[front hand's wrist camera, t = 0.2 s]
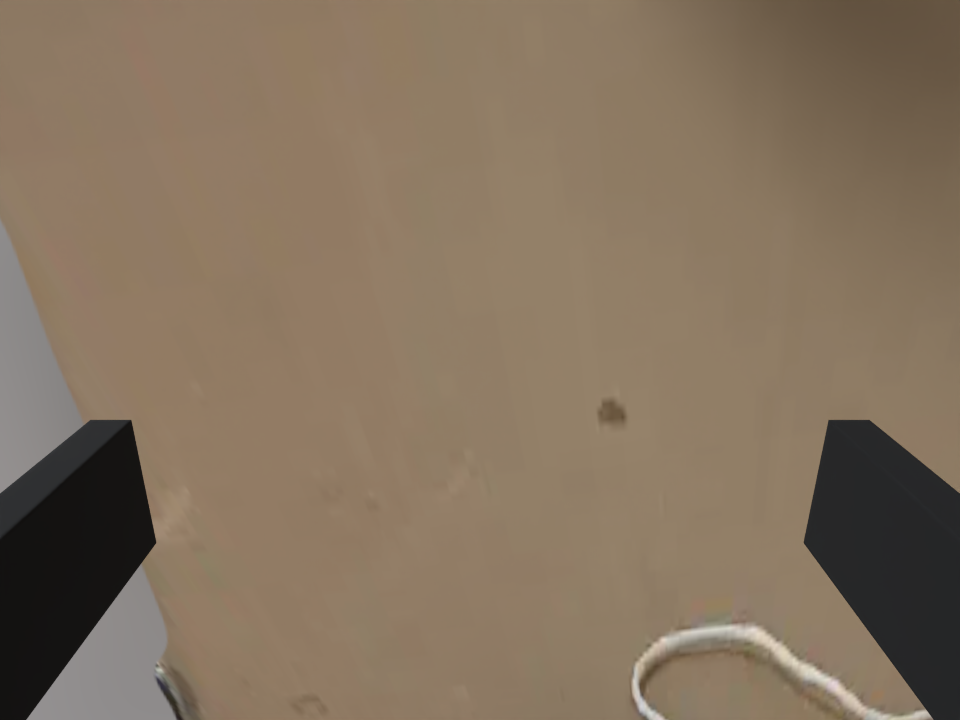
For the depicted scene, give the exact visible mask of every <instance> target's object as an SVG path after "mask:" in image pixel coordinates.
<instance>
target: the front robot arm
mask: <svg viewBox="0 0 960 720" xmlns="http://www.w3.org/2000/svg"><path fill="white" fill-rule="evenodd" d="M155 544H156V539H155V534H154V529H153V524H152V519H151V514H150V509H149V504H148V499H147V495H146V490H145V485H144V480H143V475H142V470H141V465H140V460H139V455H138V451H137V446H136V441H135V436H134V431H133V426H132V421H131V420H90V421H89V422H88V423H86V424H85V425H84V426H83V427H81V428H80V429H79V430H78V431H77V432H75V433H74V434H73V435H72V436H70V437H69V438H68V439H67V440H65V441H64V442H63V443H62V444H61V445H59V446H58V447H57V448H56V449H54V450H53V451H52V452H51V453H50V454H48V455H47V456H46V457H45V458H43V459H42V460H41V461H40V462H38V463H37V464H36V465H35V466H34V467H32V468H31V469H30V470H29V471H27V472H26V473H25V474H24V475H22V476H21V477H20V478H19V479H18V480H16V481H15V482H14V483H13V484H11V485H10V486H9V487H8V488H7V489H5V490H4V491H3V492H2V493H0V720H26V719H27V718H28V717H29V715H30V714H31V712H32V711H33V710H34V708H35V707H36V706H37V704H38V703H39V702H40V700H41V699H42V698H43V696H44V695H45V693H46V692H47V691H48V689H49V688H50V687H51V685H52V684H53V683H54V681H55V680H56V678H57V677H58V676H59V674H60V673H61V672H62V670H63V669H64V668H65V666H66V665H67V664H68V662H69V661H70V659H71V658H72V657H73V655H74V654H75V653H76V651H77V650H78V648H79V647H80V646H81V645H82V643H83V642H84V640H85V639H86V638H87V636H88V635H89V634H90V632H91V631H92V630H93V628H94V627H95V626H96V624H97V623H98V621H99V620H100V619H101V617H102V616H103V615H104V613H105V612H106V611H107V609H108V608H109V606H110V605H111V604H112V602H113V601H114V600H115V598H116V597H117V596H118V594H119V593H120V592H121V590H122V589H123V587H124V586H125V585H126V583H127V582H128V581H129V579H130V578H131V577H132V575H133V574H134V572H135V571H136V570H137V568H138V567H139V566H140V564H141V563H142V562H143V560H144V559H145V558H146V556H147V555H148V553H149V552H150V551H151V549H152V548H153V547H154V545H155ZM804 544H805V545H806V547H807V548H808V549H809V551H810V552H811V553H812V555H813V556H814V558H815V559H816V560H817V562H818V563H819V564H820V566H821V567H822V568H823V570H824V571H825V572H826V574H827V575H828V577H829V578H830V579H831V581H832V582H833V583H834V585H835V586H836V587H837V589H838V590H839V592H840V593H841V594H842V596H843V597H844V598H845V600H846V601H847V602H848V604H849V605H850V606H851V608H852V609H853V611H854V612H855V613H856V615H857V616H858V617H859V619H860V620H861V621H862V623H863V624H864V626H865V627H866V628H867V630H868V631H869V632H870V634H871V635H872V636H873V638H874V639H875V640H876V642H877V643H878V645H879V646H880V647H881V649H882V650H883V651H884V653H885V654H886V655H887V657H888V658H889V659H890V661H891V662H892V664H893V665H894V666H895V668H896V669H897V670H898V672H899V673H900V674H901V676H902V677H903V679H904V680H905V681H906V683H907V684H908V685H909V687H910V688H911V689H912V691H913V692H914V693H915V695H916V696H917V698H918V699H919V700H920V702H921V703H922V704H923V706H924V707H925V708H926V710H927V711H928V712H929V714H930V715H931V717H932V718H933V719H934V720H960V493H958V492H957V491H956V490H955V489H953V488H952V487H951V486H950V485H949V484H947V483H946V482H945V481H944V480H942V479H941V478H940V477H939V476H938V475H936V474H935V473H934V472H933V471H931V470H930V469H929V468H928V467H926V466H925V465H924V464H923V463H922V462H920V461H919V460H918V459H917V458H915V457H914V456H913V455H912V454H911V453H909V452H908V451H907V450H906V449H904V448H903V447H902V446H901V445H899V444H898V443H897V442H896V441H895V440H893V439H892V438H891V437H890V436H888V435H887V434H886V433H885V432H883V431H882V430H881V429H880V428H879V427H877V426H876V425H875V424H874V423H872V422H871V421H870V420H829V421H828V426H827V431H826V436H825V441H824V446H823V451H822V455H821V460H820V465H819V470H818V475H817V480H816V485H815V490H814V495H813V499H812V504H811V509H810V514H809V519H808V524H807V529H806V534H805V539H804Z"/></svg>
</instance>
